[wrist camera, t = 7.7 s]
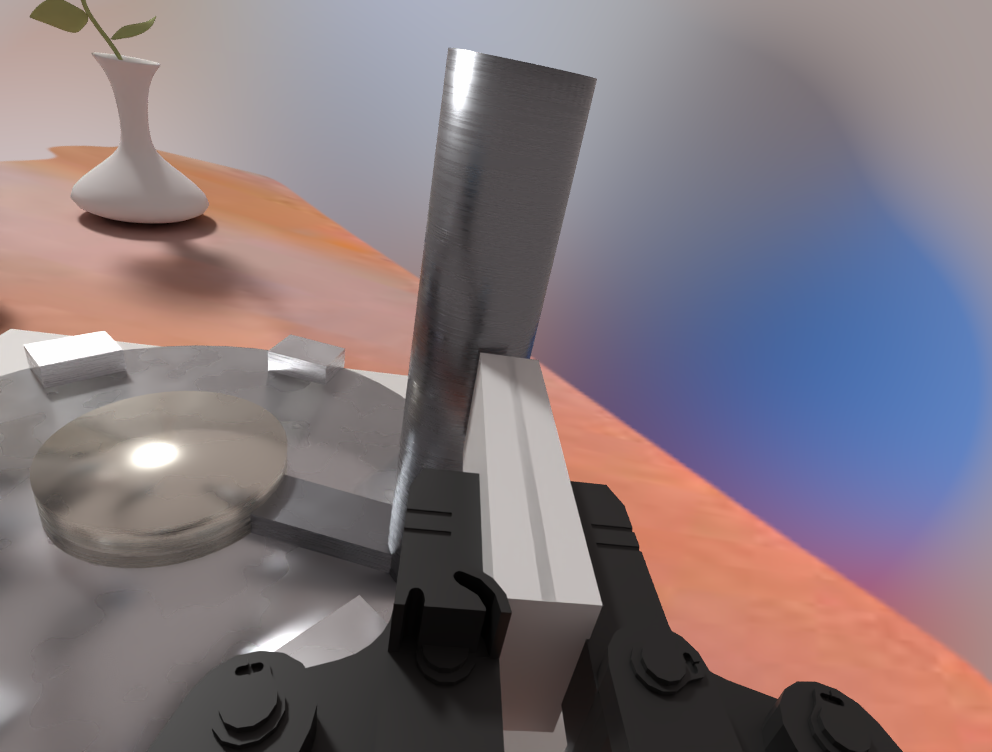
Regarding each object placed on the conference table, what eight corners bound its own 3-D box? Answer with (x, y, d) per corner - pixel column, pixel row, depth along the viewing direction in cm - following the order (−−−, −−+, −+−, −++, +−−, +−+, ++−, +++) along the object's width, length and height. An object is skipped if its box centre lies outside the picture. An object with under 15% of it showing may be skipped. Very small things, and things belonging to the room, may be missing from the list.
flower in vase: (224, 211, 61) (210, -72, 49) (186, 241, 51) (157, -104, 39) (91, 192, 58) (43, -112, 47) (25, 219, 49) (-58, -157, 37)
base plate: (-1608, 1505, 6) (-1983, 1531, 5) (19, 361, 31) (9, 325, 30) (665, 1216, 11) (706, 1199, 10) (513, 416, 35) (520, 386, 34)
